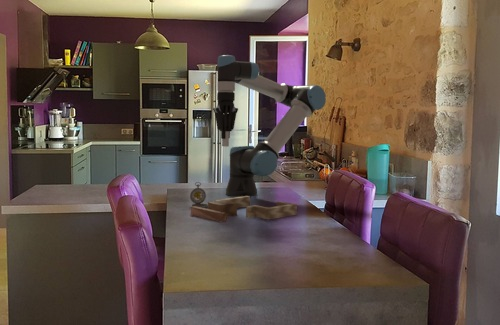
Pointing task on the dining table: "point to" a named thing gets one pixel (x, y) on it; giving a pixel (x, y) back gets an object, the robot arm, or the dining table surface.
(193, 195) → the pocket watch
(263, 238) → the dining table surface
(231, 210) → the block
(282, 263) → the dining table surface
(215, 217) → the brown wooden pieces
